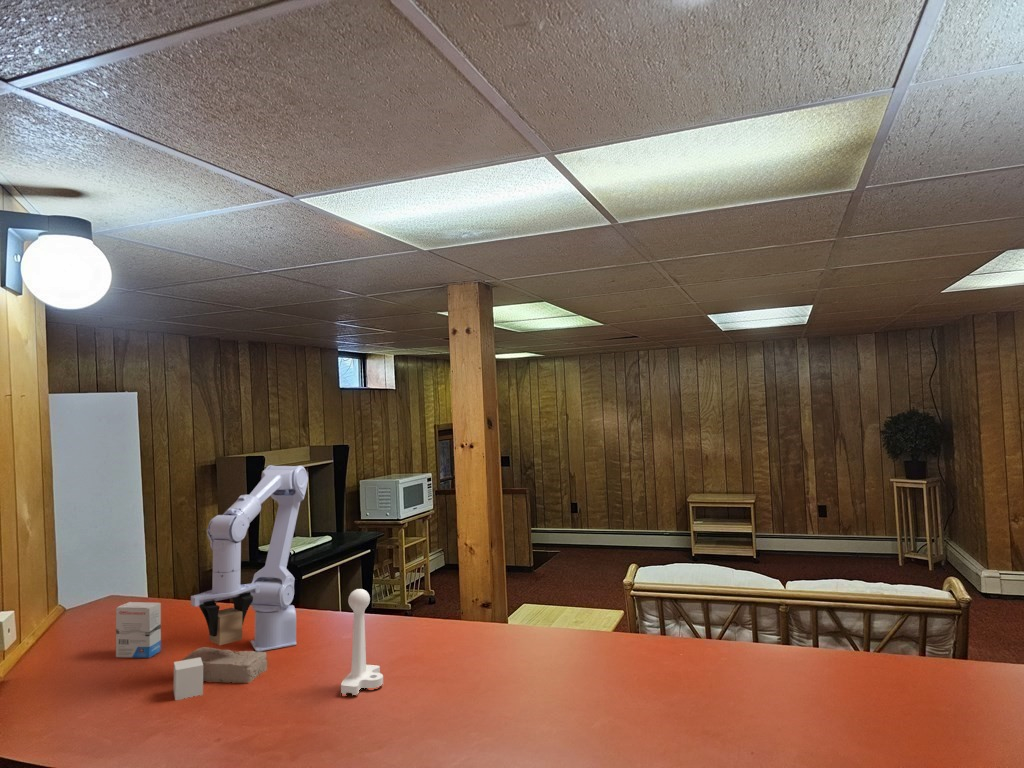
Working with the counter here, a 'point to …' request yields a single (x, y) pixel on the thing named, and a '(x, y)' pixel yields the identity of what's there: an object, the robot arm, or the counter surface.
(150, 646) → the ink box
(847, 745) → the counter surface
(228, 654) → the brick
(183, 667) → the grey block
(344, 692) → the joystick
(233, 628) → the walnut block
